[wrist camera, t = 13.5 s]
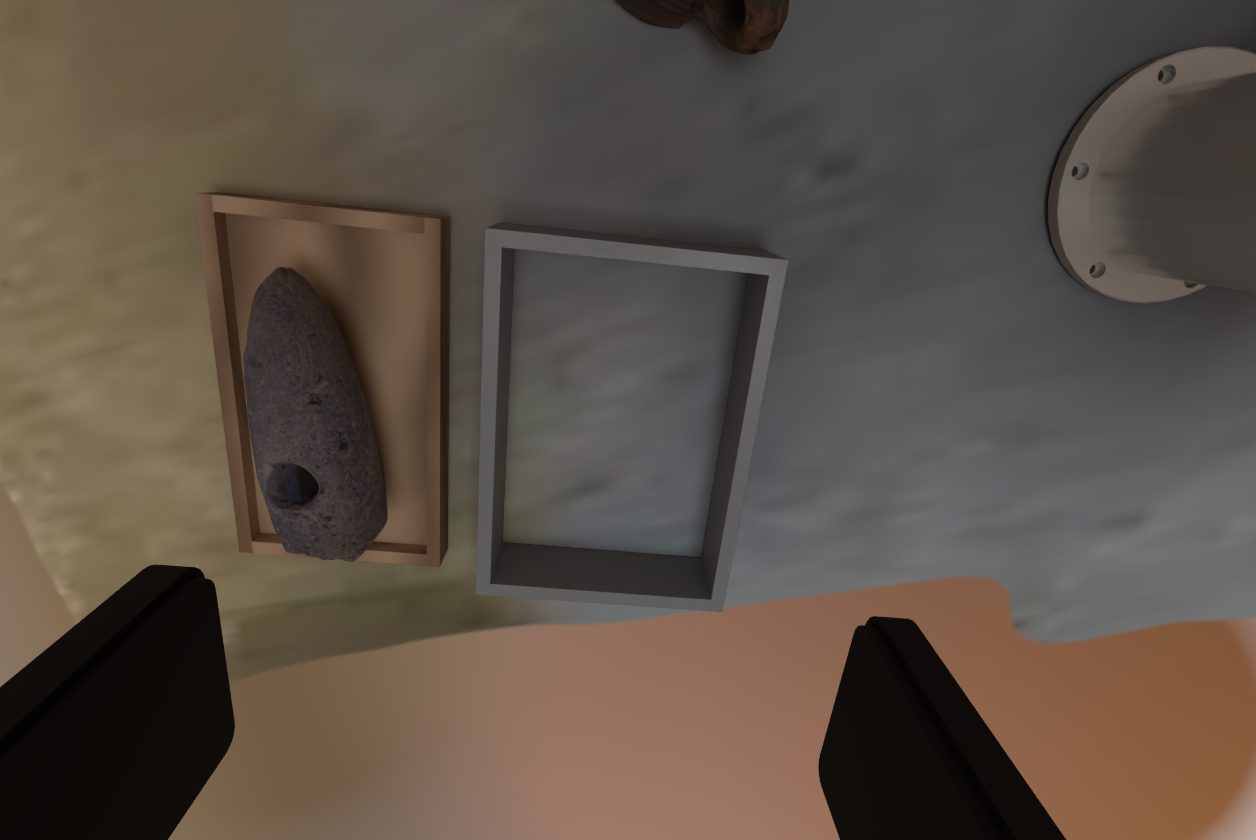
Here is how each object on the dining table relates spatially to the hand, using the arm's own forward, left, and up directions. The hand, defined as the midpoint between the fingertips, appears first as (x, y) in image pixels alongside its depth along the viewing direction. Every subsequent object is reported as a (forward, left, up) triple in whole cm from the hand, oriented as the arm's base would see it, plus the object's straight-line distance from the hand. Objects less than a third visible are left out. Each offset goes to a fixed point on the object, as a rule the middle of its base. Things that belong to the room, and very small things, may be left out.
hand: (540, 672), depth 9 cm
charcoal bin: (-2, +6, -28) cm, 29 cm away
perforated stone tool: (+14, +6, -28) cm, 31 cm away
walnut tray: (+14, +6, -28) cm, 32 cm away
